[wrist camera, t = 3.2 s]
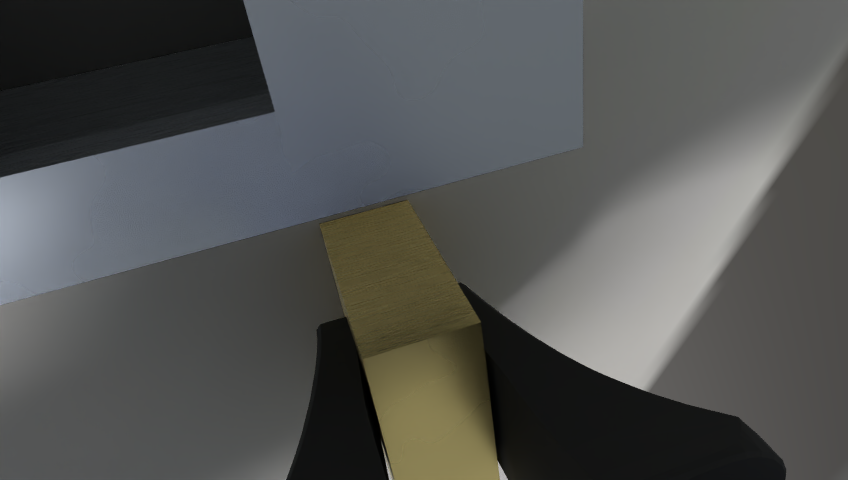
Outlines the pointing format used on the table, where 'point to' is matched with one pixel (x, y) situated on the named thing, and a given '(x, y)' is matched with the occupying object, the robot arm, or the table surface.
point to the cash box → (278, 129)
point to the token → (414, 346)
